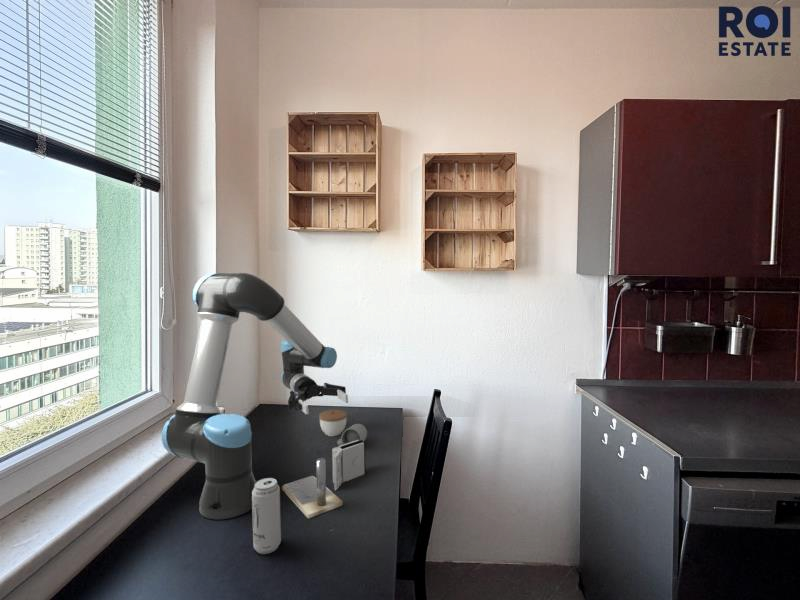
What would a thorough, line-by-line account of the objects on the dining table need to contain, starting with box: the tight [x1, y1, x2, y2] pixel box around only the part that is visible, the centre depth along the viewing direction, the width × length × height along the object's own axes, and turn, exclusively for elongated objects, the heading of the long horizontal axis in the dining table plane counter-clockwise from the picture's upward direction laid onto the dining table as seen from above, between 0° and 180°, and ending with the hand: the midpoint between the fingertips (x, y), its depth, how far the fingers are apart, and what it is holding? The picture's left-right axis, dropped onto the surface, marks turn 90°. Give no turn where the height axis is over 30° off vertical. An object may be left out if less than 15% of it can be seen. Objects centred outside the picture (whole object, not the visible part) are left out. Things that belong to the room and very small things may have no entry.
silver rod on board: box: [283, 457, 333, 506], centre depth 114 cm, size 9×17×12 cm, turn 37°
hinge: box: [331, 440, 367, 491], centre depth 124 cm, size 14×5×10 cm, turn 143°
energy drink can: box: [251, 477, 282, 555], centre depth 92 cm, size 6×6×15 cm
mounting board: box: [281, 475, 344, 519], centre depth 114 cm, size 10×18×1 cm, turn 37°
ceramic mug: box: [336, 423, 368, 446], centre depth 149 cm, size 11×8×8 cm
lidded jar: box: [318, 409, 348, 437], centre depth 161 cm, size 11×11×9 cm
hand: (327, 404), depth 129 cm, fingers open, 13 cm apart
